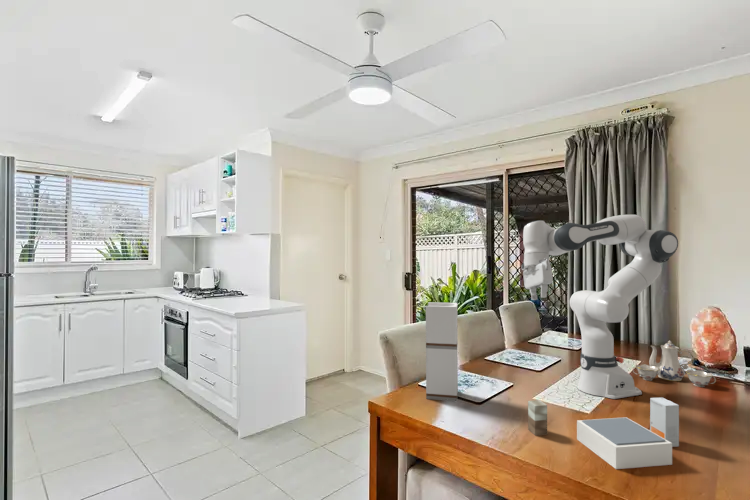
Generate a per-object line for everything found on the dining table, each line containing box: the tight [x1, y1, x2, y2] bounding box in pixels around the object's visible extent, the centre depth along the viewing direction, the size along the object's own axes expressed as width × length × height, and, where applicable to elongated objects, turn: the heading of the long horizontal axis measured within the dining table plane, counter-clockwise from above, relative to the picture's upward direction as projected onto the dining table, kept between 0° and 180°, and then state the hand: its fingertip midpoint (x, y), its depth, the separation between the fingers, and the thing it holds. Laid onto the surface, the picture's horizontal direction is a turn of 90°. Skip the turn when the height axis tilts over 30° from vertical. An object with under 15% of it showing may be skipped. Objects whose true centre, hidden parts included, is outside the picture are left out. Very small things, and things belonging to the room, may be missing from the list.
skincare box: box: [649, 397, 680, 448], centre depth 116 cm, size 6×4×12 cm
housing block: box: [527, 399, 548, 436], centre depth 123 cm, size 4×4×9 cm
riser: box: [576, 416, 673, 470], centre depth 111 cm, size 16×16×6 cm
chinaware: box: [632, 340, 717, 388], centre depth 170 cm, size 28×17×17 cm, turn 68°
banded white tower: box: [425, 301, 459, 402], centre depth 154 cm, size 11×11×35 cm
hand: (539, 298), depth 149 cm, fingers open, 8 cm apart
